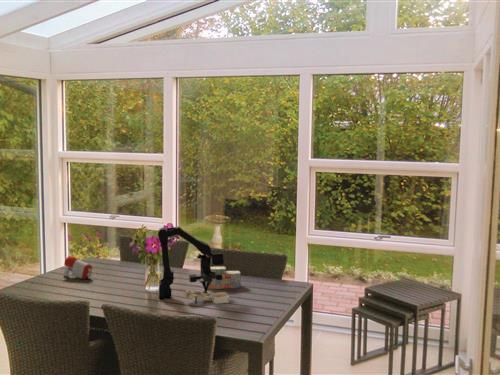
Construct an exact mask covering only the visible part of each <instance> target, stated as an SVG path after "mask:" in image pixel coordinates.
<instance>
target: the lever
mask: <svg viewBox="0 0 500 375" xmlns="http://www.w3.org/2000/svg"><path fill="white" fill-rule="evenodd" d="M184 292H185V293H184V295H185V298H187V299H197V296H202V301H207V302H208V301H209V302H211V301H212V297H211V293H208V291H207V292H205V290H201V292H200V291H191V290H188V288H186V289H185V291H184Z"/></svg>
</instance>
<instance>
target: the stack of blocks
mask: <svg viewBox="0 0 500 375" xmlns="http://www.w3.org/2000/svg"><path fill="white" fill-rule="evenodd" d="M210 268H211V272H215V273H221V275H222V278H223V279H222V280H217V279H216V278H214V279H212V282H211V283H210V284H209V286H208V289H207V290H216V289H217V290H221V289H222V290H223V289H241V285H242V284H241V282H242V281H241V278H242V277H241V271H240V270H227V268H226V266H224V265H221V266H210ZM205 285H206V282H205Z"/></svg>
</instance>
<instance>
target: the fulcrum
mask: <svg viewBox="0 0 500 375" xmlns="http://www.w3.org/2000/svg"><path fill="white" fill-rule="evenodd" d="M191 301H192V303H193V304H194V306H199V305H202V306H203V305H205V302H204V300H202V296H197V299H193V298H191Z"/></svg>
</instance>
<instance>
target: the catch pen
mask: <svg viewBox="0 0 500 375" xmlns="http://www.w3.org/2000/svg"><path fill="white" fill-rule="evenodd" d="M220 294H222V295H223V296H224V297H218V296H219V295H220ZM210 297H212V299H211V301H212V302H213V304H214V305H215V304H226V303H230V296H229V294H228V293H227V292H225V291H224V292H211V293H210Z"/></svg>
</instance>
